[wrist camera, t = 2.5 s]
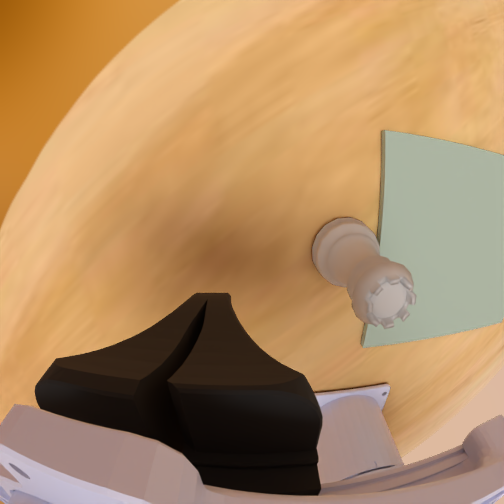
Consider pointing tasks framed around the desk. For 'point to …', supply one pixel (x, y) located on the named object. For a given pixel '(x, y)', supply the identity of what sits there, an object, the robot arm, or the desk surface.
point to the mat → (442, 235)
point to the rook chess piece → (363, 272)
